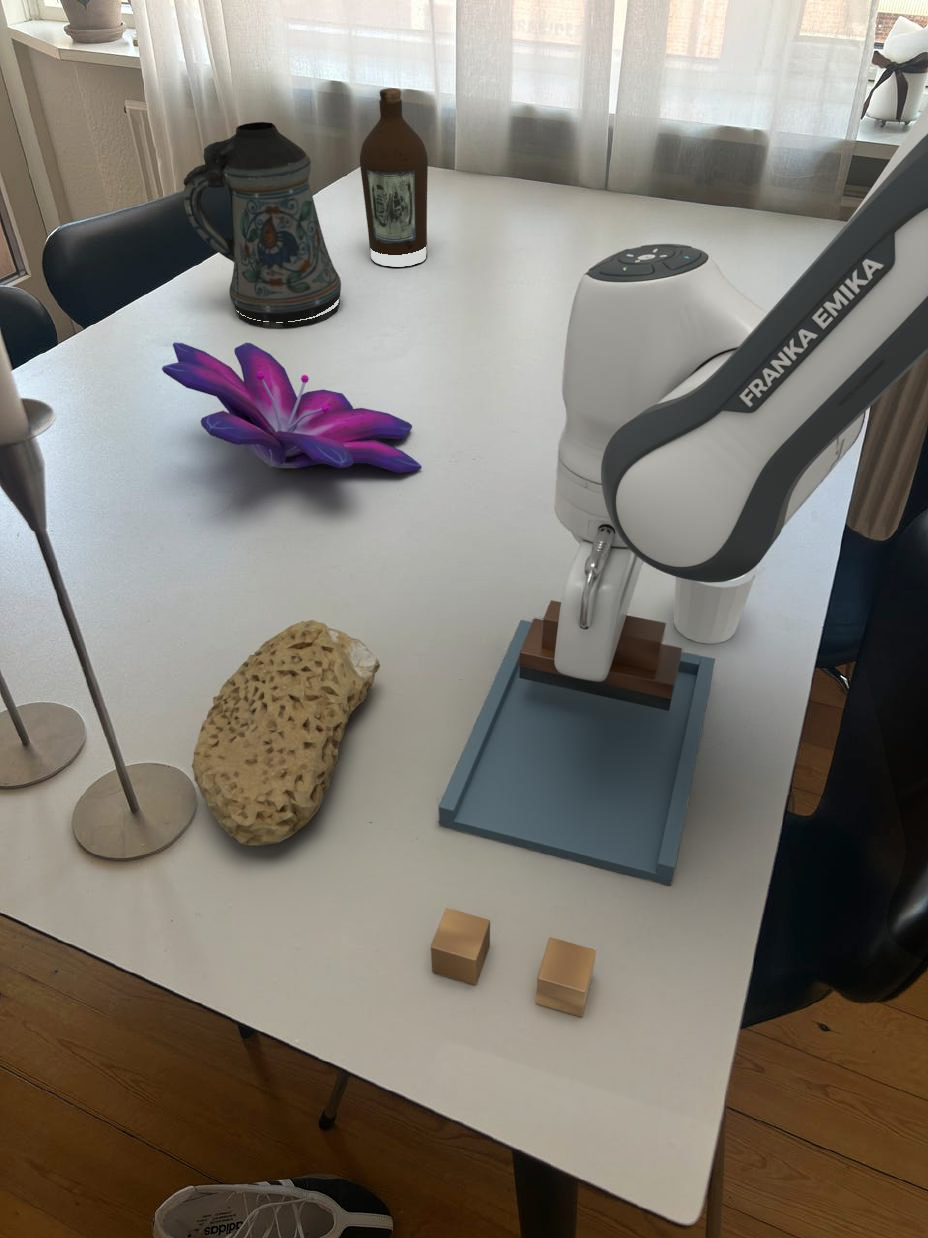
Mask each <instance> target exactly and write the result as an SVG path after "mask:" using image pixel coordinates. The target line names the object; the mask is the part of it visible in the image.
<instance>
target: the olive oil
mask: <svg viewBox="0 0 928 1238" xmlns="http://www.w3.org/2000/svg"><path fill="white" fill-rule="evenodd" d="M379 97H380V100H379V114H380V117H379V119H378V122H376V124H375V125H374V126H373V128H372V129H371V130H370V132H369V133H368V135H367V136H366V137H365V139H364V140H363V142H362V144H361V147H360V148H361V150H360V152H359V153H360V154H359V167H360V168H359V169H360V176H361V183H362V184H361V185H362V191H363V192H362V193H363V199H364V200H363V201H364V207H365V217H366V225H367V234H368V244H369V249H370V248H371V249H372V250H373V251H375V252H378V253H380V254H381V253H382V254H388V255H402V254H408V253H413V252H416V251H419V250H421V249H423V248H424V247H426V245H427V246H428V177H429V176H428V171H429V169H428V168H429V160H428V153H427V149H426V146H425V143H424V141H423V139H422V138H421V136H419V134H418V133H417V132H416V131H415V130H414V129H413V128H412V127H411V126H410V124H408V123H407V121H406V120H405V118H404V117H403V100H402V99H401V97H402V93H401V89H399V88H392V87H390V88H382V89H381V90H379Z"/></svg>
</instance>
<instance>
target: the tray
mask: <svg viewBox="0 0 928 1238" xmlns="http://www.w3.org/2000/svg"><path fill="white" fill-rule="evenodd" d="M532 622H533V621H530V620H524V619H520V621H519V623H518V626H517V628H516V630H515V632H514V634H513V636H512V639H511V641H510V644H509V645H508V648H507V650H506V652H505V655H504V657H503V659H502V661H501V663H500V667H499V668H498V671H497V673H496V676H495V677H494V680H493V682H492V684H491V687H490V689H489V691H488V693H487V696H486V698H485V700H484V702H483V705H482V707H481V709H480V712H479V714H478V716H477V719H476V721H475V723H474V724H473V728H472V730H471V732H470V733H469V736H468V738H467V741H466V743H465V746H464V748H463V750H462V752H461V755H460V757H459V759H458V761H457V764H456V767H455V768H454V770H453V773H452V775H451V777H450V780H449V782H448V784H447V787H446V789H445V791H444V794H443V795H442V798H441V800H440V802H439V804H438V825H439V826H440V827H444V828H448V829H450V830H451V829H452V830H455V831H460V832H464V833H467V834H471V835H475V836H479V837H482V838H486V839H489V840H493V841H498V842H501V843H505V844H509V845H513V846H516V847H520V848H525V849H527V850H532V851H535V852H536V851H537V852H539V853H543V854H547V855H551V856H556V857H558V858H563V859H566V860H570V861H574V862H578V863H582V864H586V865H589V866H594V867H597V868H601V869H605V870H609V871H611V872H612V871H613V872H617V873H620V874H624V875H628V876H630V877H631V876H632V877H635V878H640V879H644V880H646V881H647V880H648V881H650V882H654V883H659V884H663V885H666V886H669V887H670V886H672V884H673V880H674V875H675V871H676V870H675V869H676V866H677V859H678V855H679V850H680V846H681V845H680V844H681V840H682V839H681V838H682V834H683V828H684V825H685V818H686V815H687V814H686V813H687V809H688V804H689V797H690V792H691V788H692V782H693V777H694V773H695V767H696V762H697V756H698V751H699V747H700V741H701V736H702V731H703V726H704V721H705V716H706V710H707V704H708V700H709V694H710V688H711V684H712V680H713V673H714V668H715V664H716V658H714V657H709V656H703V655H699V654H694V653H691V652H690V653H689V652H684V651H682V654H681V659H680V664H679V669H678V675H677V679H676V684H675V688H674V692H673V697H672V701H671V705H670V710H669V711H667V710H662V709H658V708H653V707H648V706H644V705H639V704H635V703H630V702H626V701H621V700H617V699H612V698H607V697H603V696H598V695H594V694H589V693H585V692H580V691H576V690H571V689H567V688H562V687H557V686H553V685H548V684H544V683H539V682H535V681H530V680H526V679H521V678H519V668H520V666H519V652H520V650H521V648H522V645H523V643H524V640H525V638H526V636H527V633H528V631H529V629H530V626H531V624H532Z"/></svg>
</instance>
